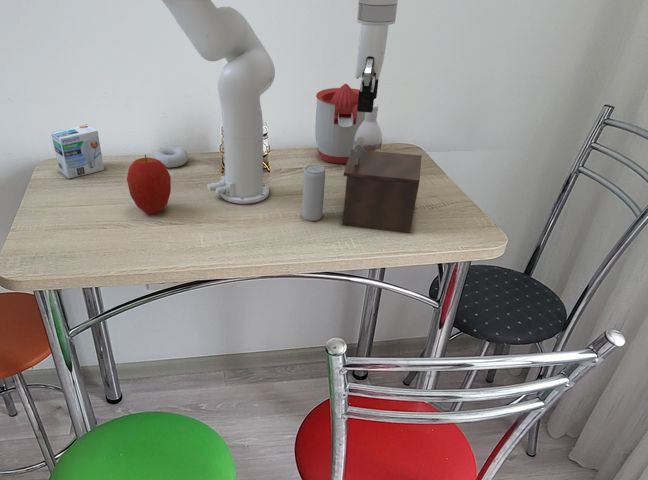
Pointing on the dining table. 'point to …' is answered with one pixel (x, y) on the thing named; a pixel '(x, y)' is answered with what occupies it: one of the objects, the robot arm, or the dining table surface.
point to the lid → (382, 165)
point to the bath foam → (370, 131)
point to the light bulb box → (78, 151)
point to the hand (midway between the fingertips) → (366, 104)
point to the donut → (171, 156)
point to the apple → (149, 184)
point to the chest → (379, 204)
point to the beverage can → (313, 192)
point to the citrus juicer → (337, 122)
